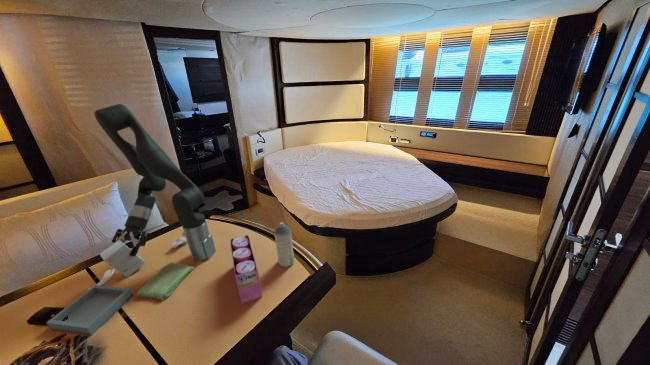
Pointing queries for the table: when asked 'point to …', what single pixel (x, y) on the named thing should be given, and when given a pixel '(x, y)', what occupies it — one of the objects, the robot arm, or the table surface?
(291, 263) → the aerosol can
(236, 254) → the gum box
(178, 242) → the pale purple eggplant
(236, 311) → the table surface
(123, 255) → the small box
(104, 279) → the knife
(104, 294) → the bin
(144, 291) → the washcloth
